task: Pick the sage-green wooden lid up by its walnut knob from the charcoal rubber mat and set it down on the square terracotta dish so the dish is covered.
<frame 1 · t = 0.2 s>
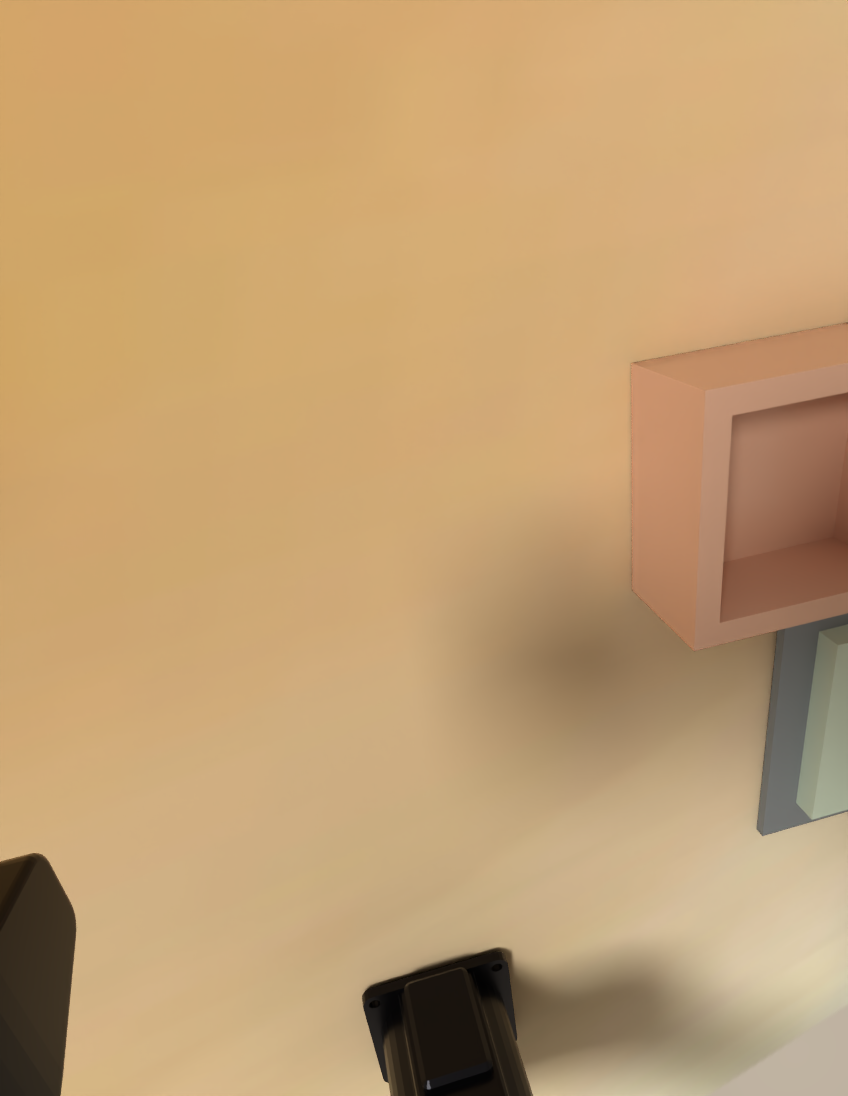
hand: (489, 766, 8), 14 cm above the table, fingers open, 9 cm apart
dish: (742, 461, 24), on the table
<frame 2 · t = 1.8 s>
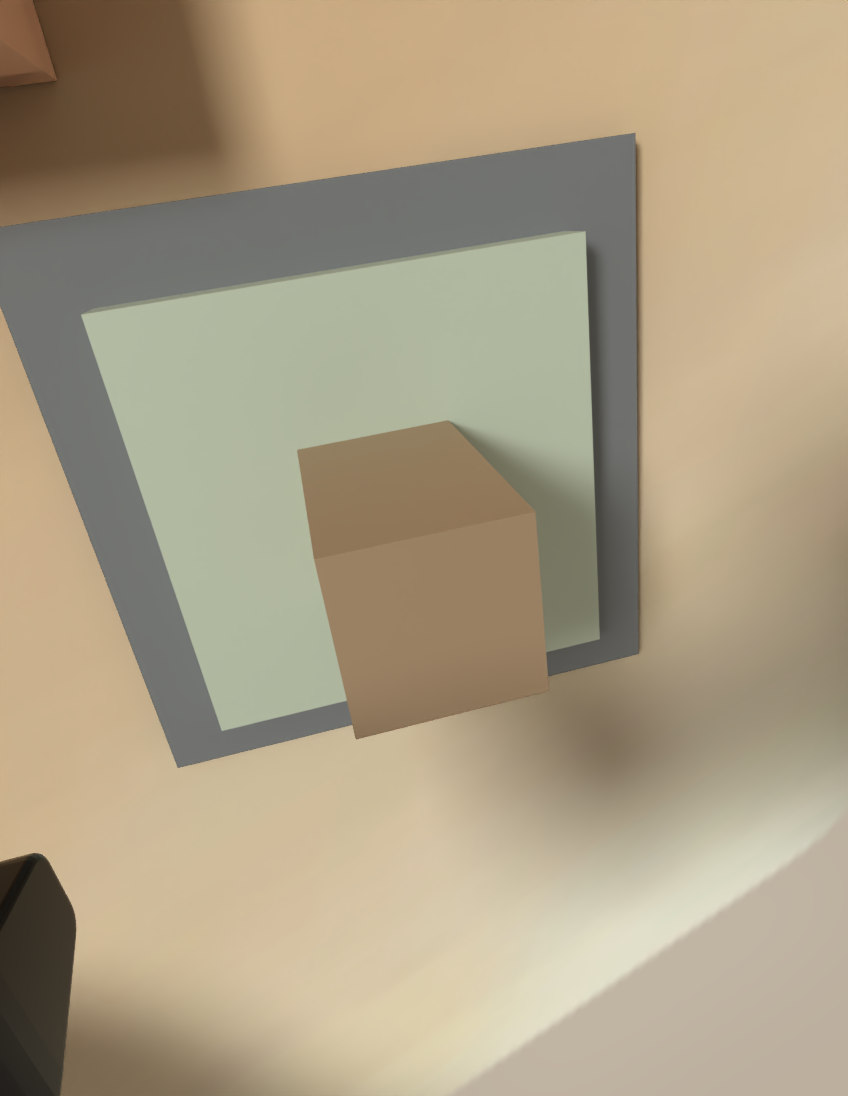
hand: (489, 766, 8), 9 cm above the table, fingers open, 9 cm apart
lid: (378, 489, 15), resting on mat
mat: (376, 483, 16), on the table
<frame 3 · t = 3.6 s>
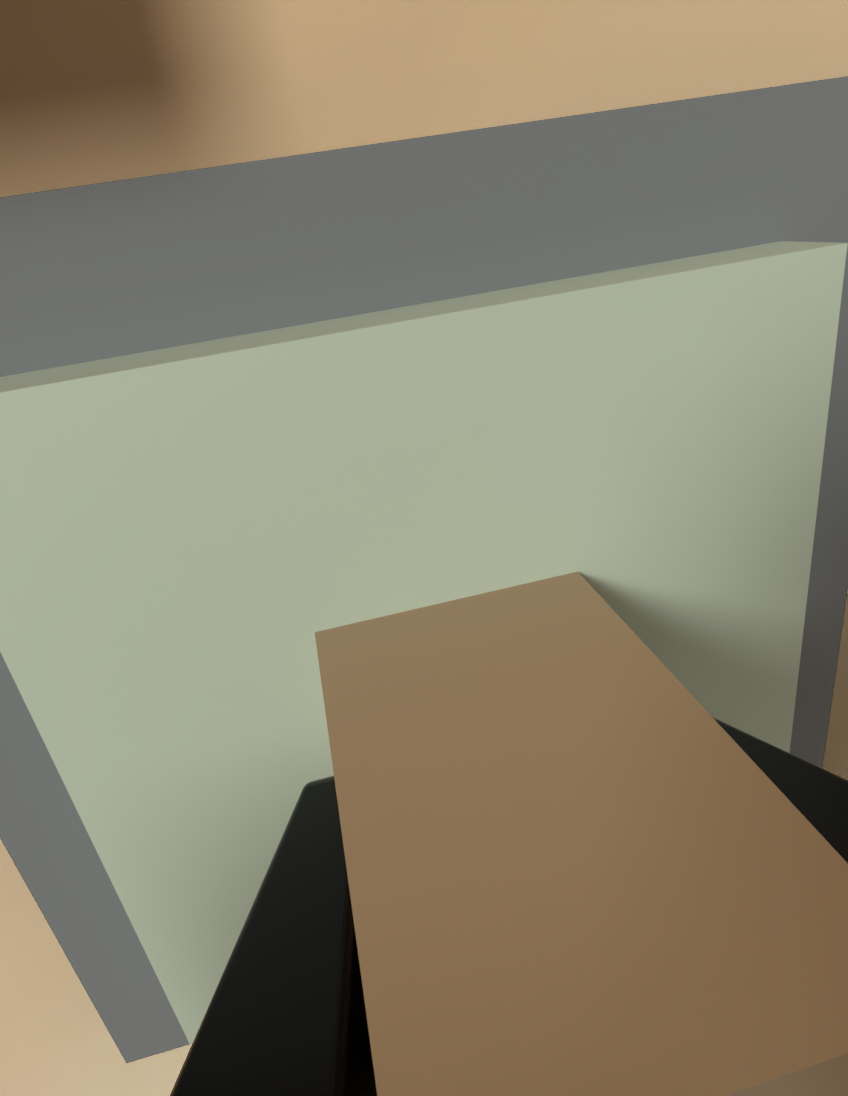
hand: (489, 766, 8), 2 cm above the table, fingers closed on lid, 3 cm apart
lid: (445, 662, 9), resting on mat, touching gripper
mat: (438, 646, 10), on the table
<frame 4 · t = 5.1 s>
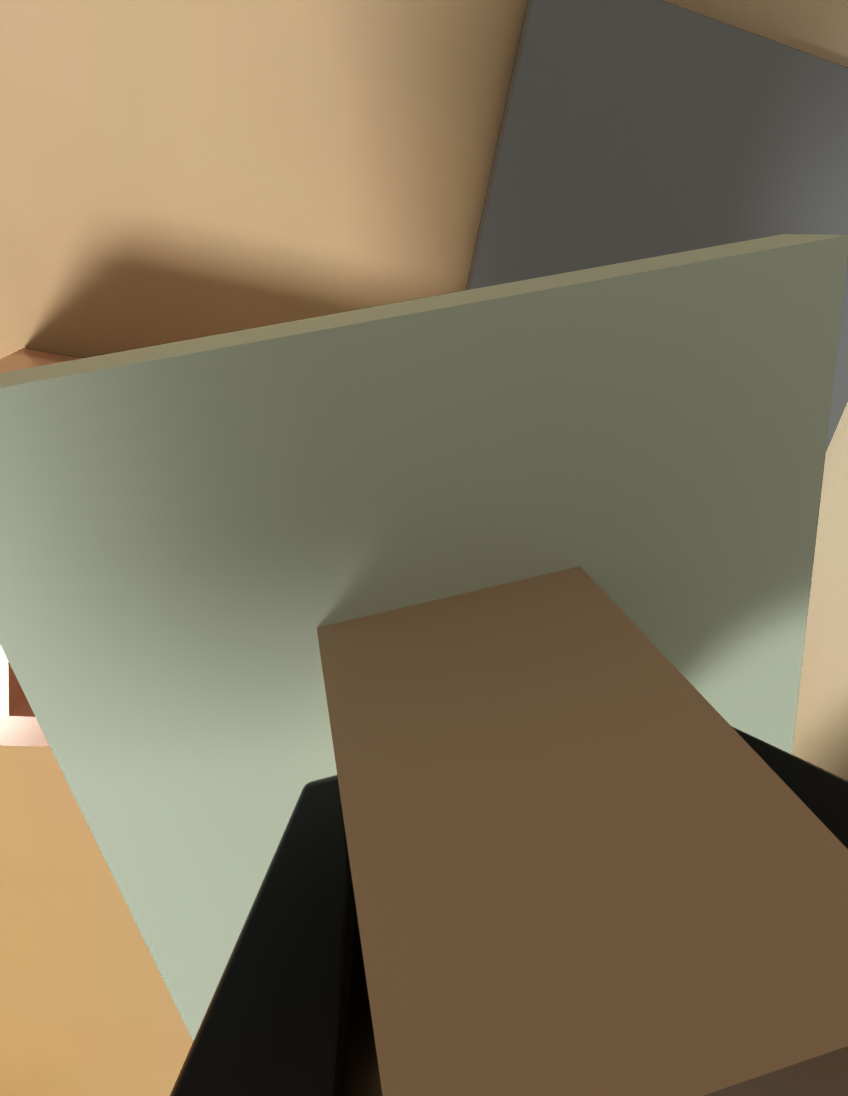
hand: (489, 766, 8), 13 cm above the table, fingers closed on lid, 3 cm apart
dish: (191, 528, 19), on the table
lid: (447, 658, 9), point 11 cm above the table, touching gripper
mat: (682, 306, 19), on the table
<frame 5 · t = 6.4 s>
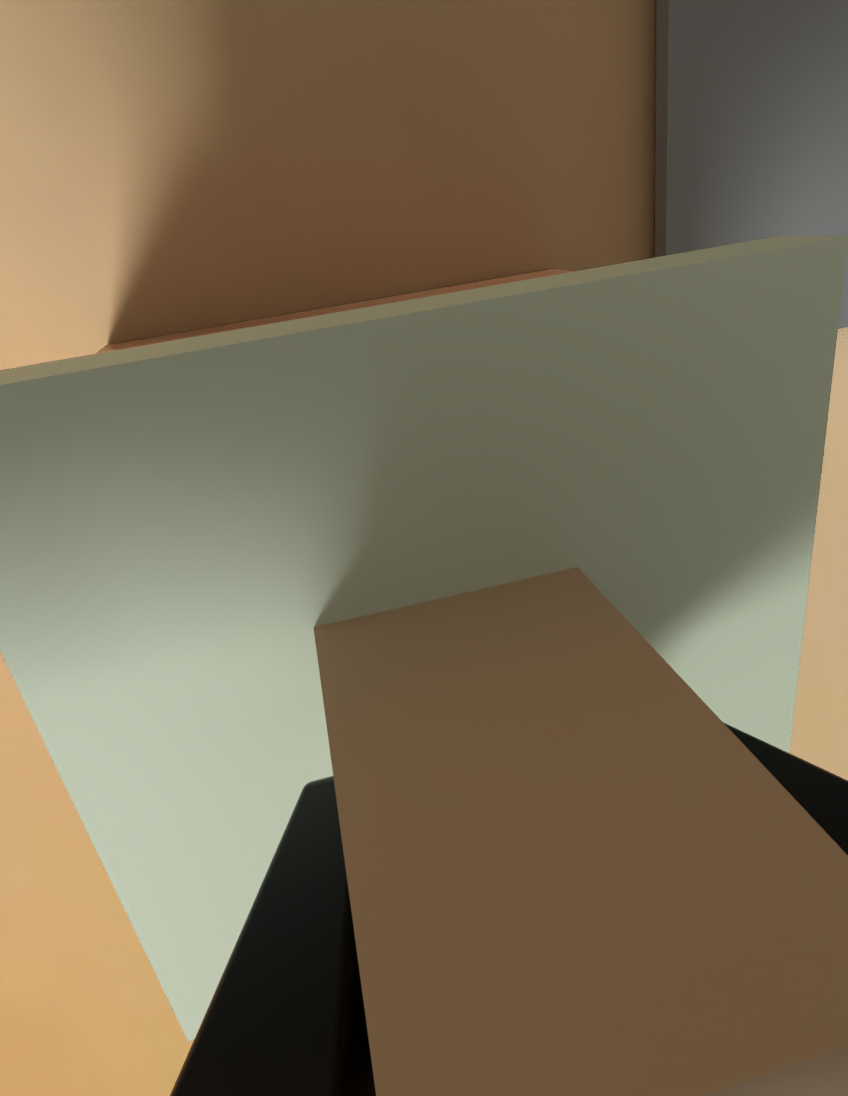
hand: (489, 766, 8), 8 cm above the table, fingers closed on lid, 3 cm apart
dish: (377, 512, 14), on the table
lid: (444, 659, 9), point 5 cm above the table, touching gripper
when the fingers open (7 cm above the table, at t = 6.9 s): lid drops 1 cm, resting on dish.
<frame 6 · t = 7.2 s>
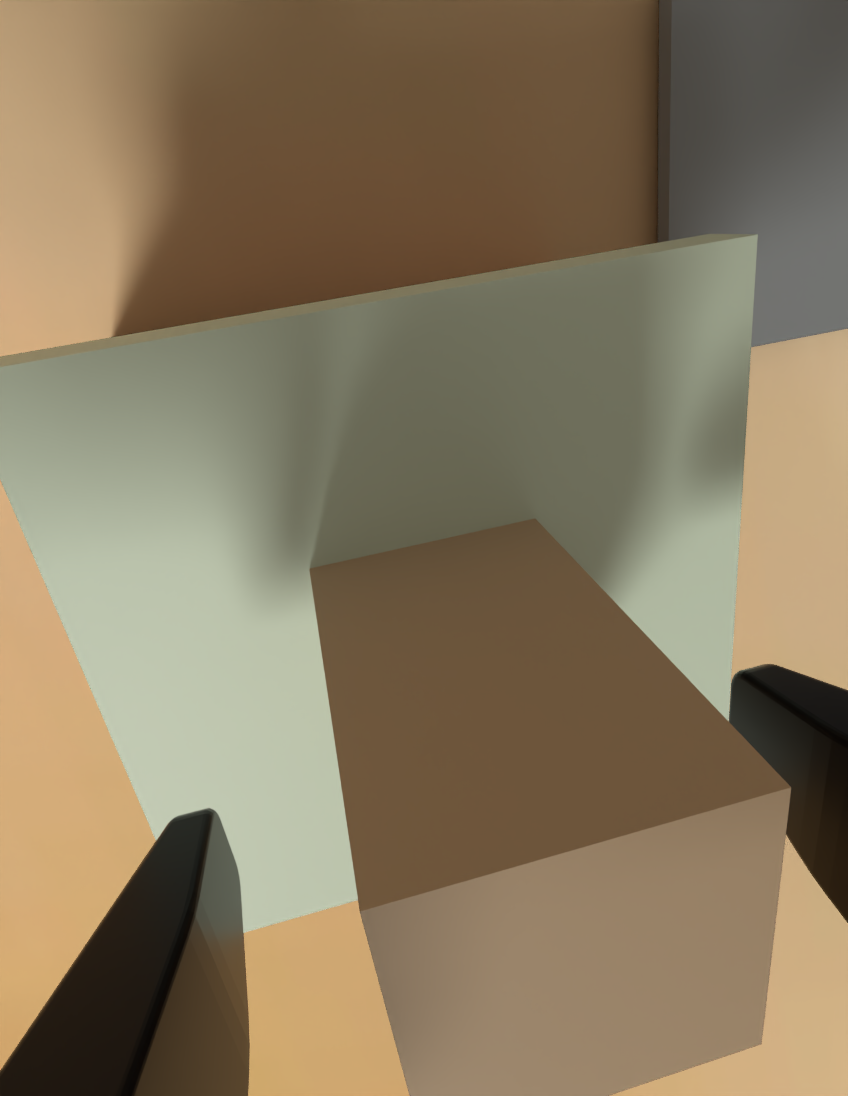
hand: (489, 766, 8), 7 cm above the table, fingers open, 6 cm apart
lid: (424, 605, 11), point 4 cm above the table, touching dish
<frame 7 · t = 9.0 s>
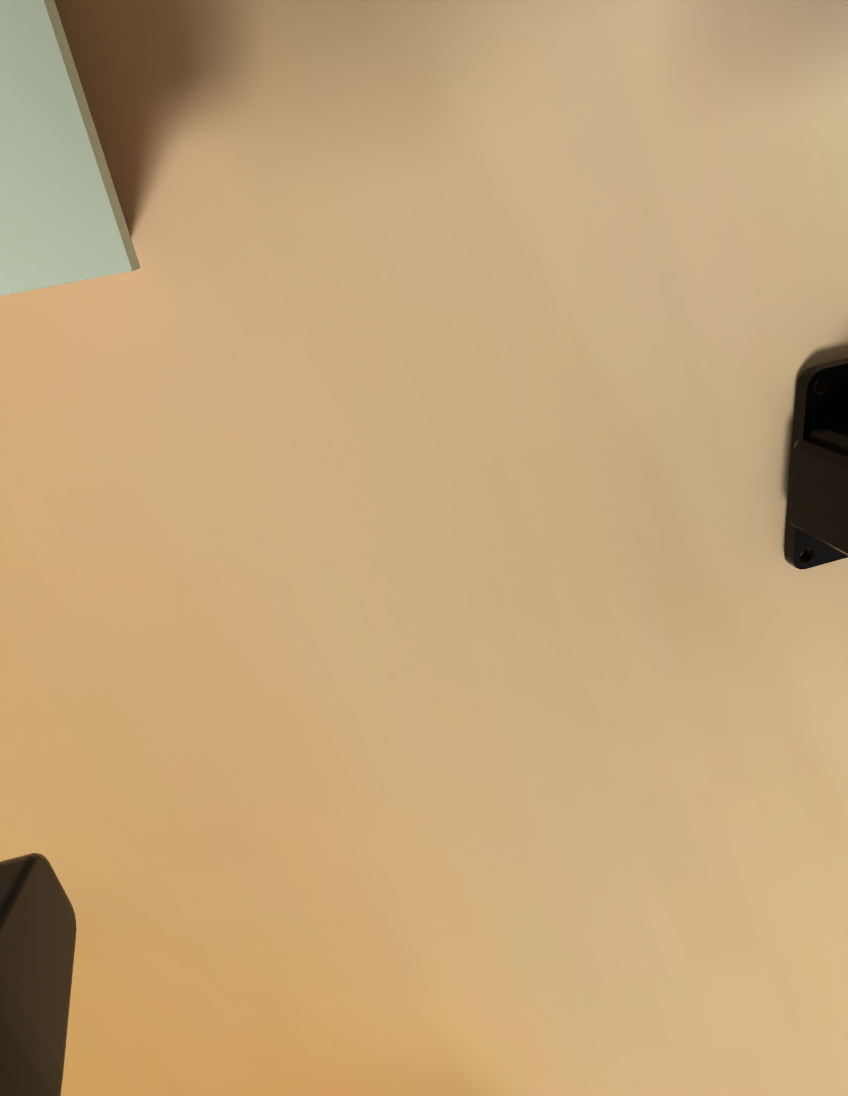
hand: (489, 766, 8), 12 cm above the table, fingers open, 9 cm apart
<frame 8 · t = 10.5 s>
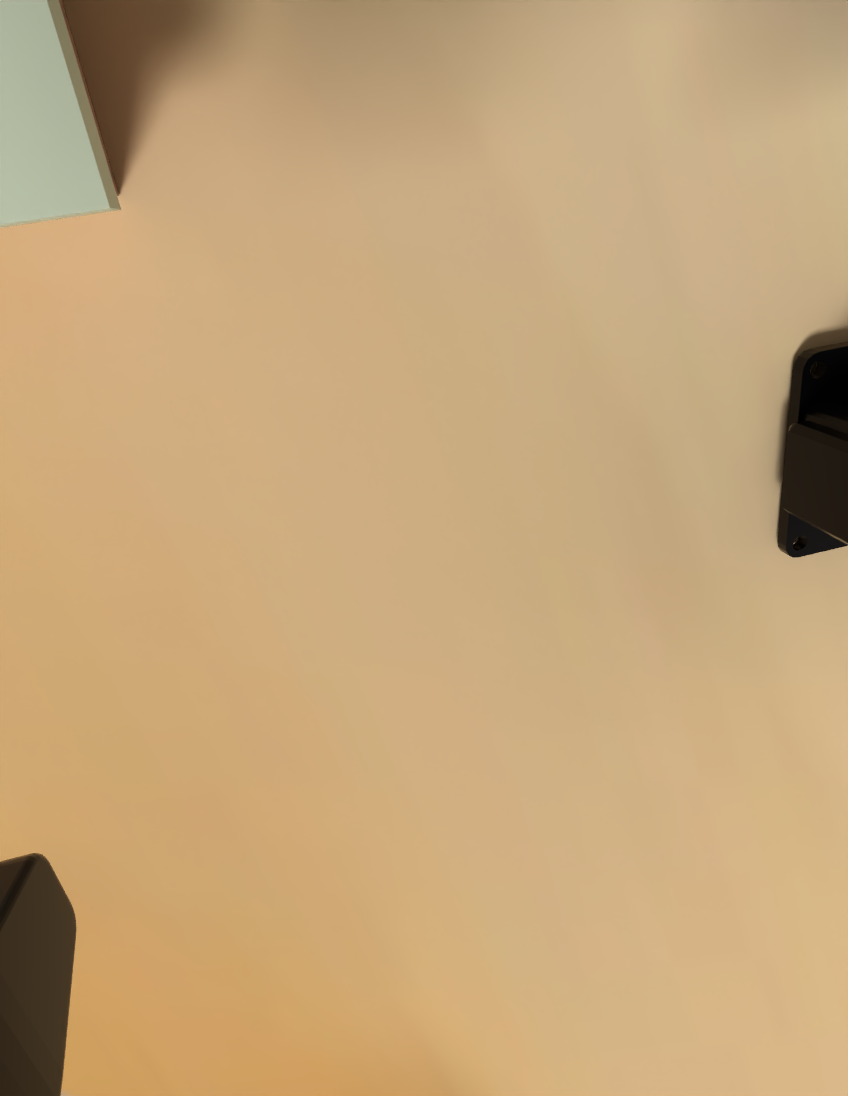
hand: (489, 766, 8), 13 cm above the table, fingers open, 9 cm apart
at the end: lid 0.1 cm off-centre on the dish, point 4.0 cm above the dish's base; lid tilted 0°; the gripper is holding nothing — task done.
